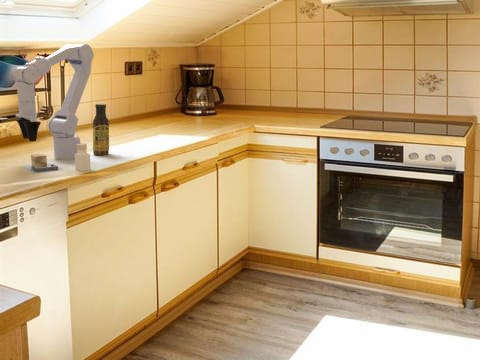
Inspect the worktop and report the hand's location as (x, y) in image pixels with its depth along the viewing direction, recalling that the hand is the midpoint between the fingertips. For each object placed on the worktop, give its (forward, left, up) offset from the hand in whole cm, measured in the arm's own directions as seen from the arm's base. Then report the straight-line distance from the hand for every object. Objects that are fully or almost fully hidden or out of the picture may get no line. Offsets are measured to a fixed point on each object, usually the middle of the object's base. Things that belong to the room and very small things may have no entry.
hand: (29, 139), depth 222 cm
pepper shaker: (-12, +20, -10) cm, 25 cm away
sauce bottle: (-30, -8, -10) cm, 32 cm away
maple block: (-1, +7, -9) cm, 11 cm away
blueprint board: (-1, +10, -9) cm, 14 cm away
